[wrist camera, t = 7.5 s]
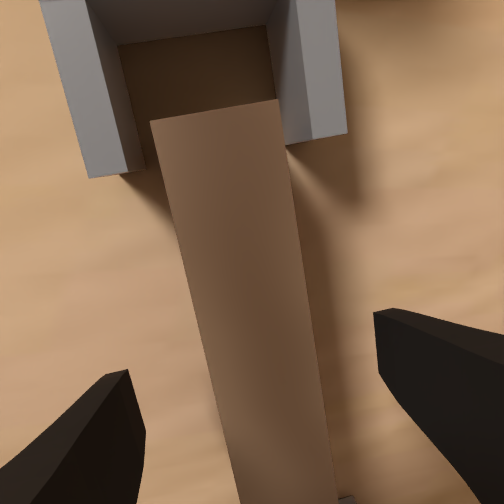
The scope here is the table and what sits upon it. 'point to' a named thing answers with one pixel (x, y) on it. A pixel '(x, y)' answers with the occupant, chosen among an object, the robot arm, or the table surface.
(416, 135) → the table surface
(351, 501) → the gray u-shaped clamp
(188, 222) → the slat
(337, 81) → the cap near
